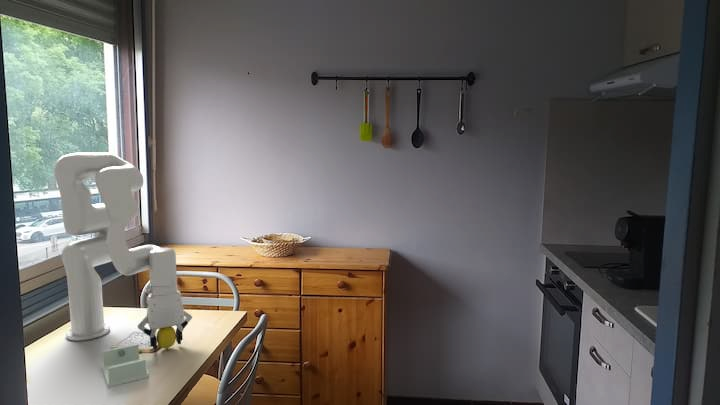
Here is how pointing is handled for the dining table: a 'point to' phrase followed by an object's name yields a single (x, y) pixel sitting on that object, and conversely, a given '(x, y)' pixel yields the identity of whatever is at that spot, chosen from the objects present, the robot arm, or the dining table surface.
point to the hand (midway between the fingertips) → (166, 344)
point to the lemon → (166, 337)
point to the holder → (123, 365)
